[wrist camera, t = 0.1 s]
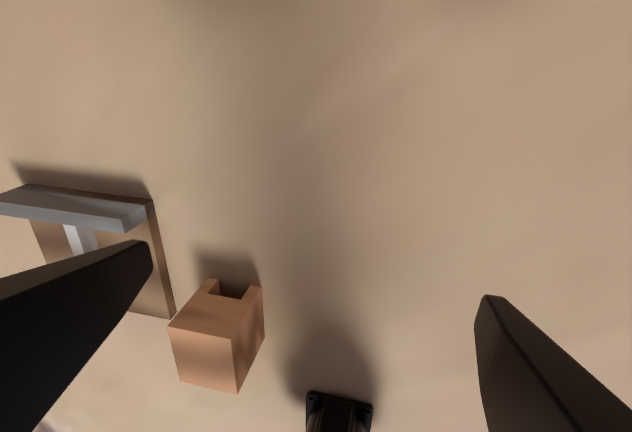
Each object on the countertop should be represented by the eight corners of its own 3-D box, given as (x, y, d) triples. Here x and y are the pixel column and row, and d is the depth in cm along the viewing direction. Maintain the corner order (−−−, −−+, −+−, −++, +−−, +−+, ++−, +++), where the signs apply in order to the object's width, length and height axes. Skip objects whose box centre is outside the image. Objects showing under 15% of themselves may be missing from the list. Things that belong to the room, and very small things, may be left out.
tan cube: (264, 337, 32) (237, 394, 27) (214, 327, 33) (178, 380, 28) (261, 286, 29) (230, 339, 24) (206, 276, 30) (165, 325, 25)
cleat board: (176, 312, 33) (153, 339, 30) (68, 291, 35) (37, 314, 32) (152, 200, 28) (121, 219, 24) (27, 183, 30) (-16, 199, 27)
